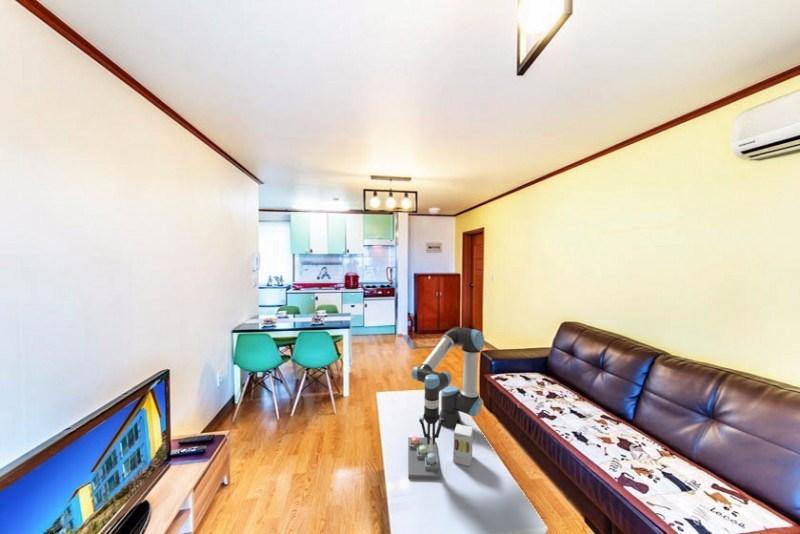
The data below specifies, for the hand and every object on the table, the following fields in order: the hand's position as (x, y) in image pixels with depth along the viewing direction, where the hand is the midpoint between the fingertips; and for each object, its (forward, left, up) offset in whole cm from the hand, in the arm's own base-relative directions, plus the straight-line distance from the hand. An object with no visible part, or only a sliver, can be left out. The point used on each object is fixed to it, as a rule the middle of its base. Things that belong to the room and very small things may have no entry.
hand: (430, 449), depth 154 cm
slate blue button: (0, 0, -7) cm, 7 cm away
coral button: (+8, -16, -8) cm, 19 cm away
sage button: (+4, -8, -8) cm, 12 cm away
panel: (+4, -8, -10) cm, 14 cm away
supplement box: (-18, -8, -11) cm, 23 cm away
